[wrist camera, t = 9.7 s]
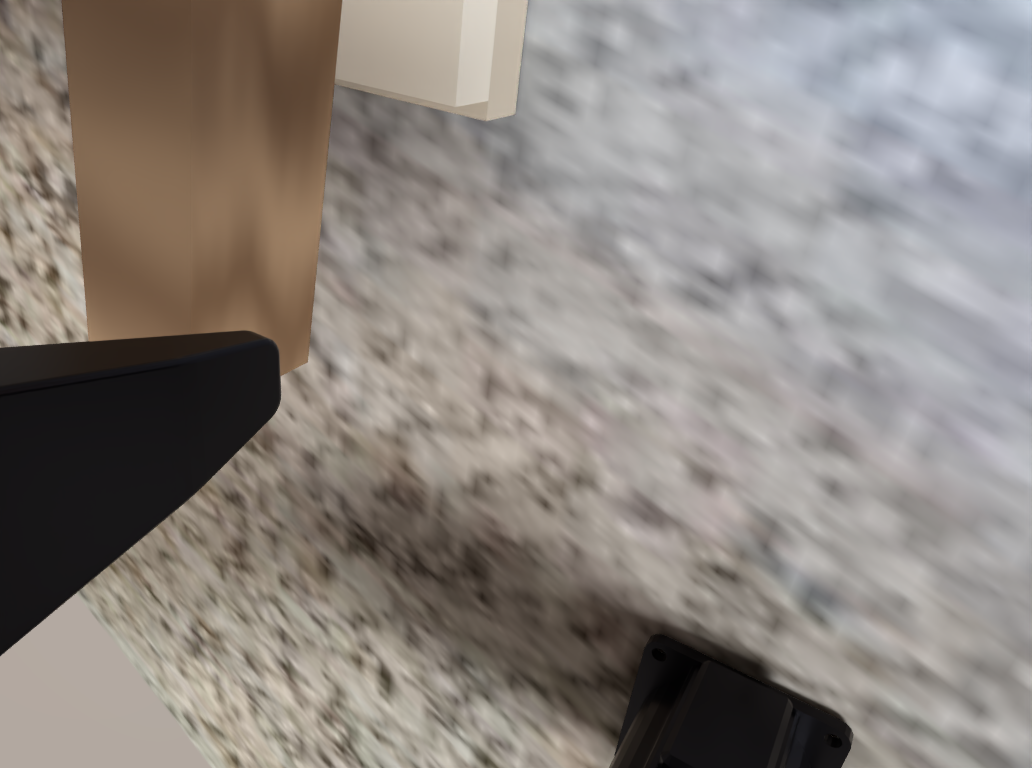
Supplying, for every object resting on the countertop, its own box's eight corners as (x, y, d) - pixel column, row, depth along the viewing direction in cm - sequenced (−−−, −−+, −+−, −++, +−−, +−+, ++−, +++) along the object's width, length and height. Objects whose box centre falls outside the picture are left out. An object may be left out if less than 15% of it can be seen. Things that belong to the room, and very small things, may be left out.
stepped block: (515, 114, 21) (453, 128, 19) (220, 44, 25) (139, 49, 23) (533, -55, 19) (468, -62, 17) (210, -100, 24) (122, -111, 21)
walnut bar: (307, 362, 25) (191, 422, 21) (215, 310, 26) (90, 358, 22) (397, -574, 14) (193, -765, 11) (233, -584, 15) (0, -759, 12)
